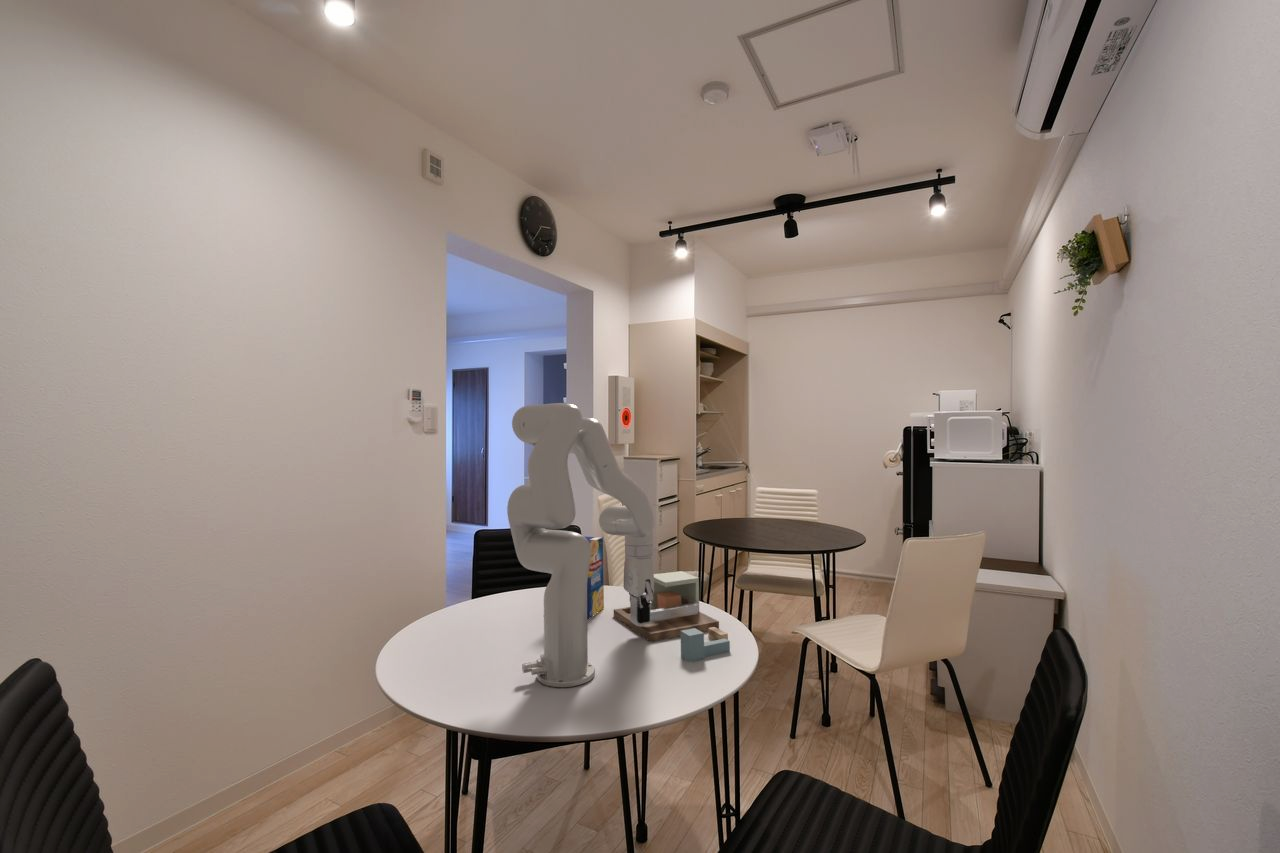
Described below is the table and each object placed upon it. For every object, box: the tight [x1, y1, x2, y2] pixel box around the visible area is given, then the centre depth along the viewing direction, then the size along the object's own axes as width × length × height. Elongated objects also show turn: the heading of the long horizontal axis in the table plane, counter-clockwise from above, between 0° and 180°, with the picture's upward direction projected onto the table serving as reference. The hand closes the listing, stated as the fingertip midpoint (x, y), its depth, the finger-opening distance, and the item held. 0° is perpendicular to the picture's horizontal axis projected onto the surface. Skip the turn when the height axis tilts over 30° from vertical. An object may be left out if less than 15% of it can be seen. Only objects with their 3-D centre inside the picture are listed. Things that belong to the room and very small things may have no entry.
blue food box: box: [584, 536, 605, 620], centre depth 169 cm, size 7×11×22 cm, turn 159°
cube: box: [657, 592, 681, 609], centre depth 162 cm, size 5×5×5 cm
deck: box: [613, 606, 720, 642], centre depth 158 cm, size 21×24×2 cm
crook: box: [629, 593, 700, 626], centre depth 154 cm, size 21×10×7 cm, turn 115°
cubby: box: [650, 570, 700, 612], centre depth 164 cm, size 11×10×10 cm
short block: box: [707, 627, 729, 641], centre depth 144 cm, size 6×2×2 cm, turn 26°
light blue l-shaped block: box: [680, 628, 731, 663], centre depth 134 cm, size 12×4×6 cm, turn 116°
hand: (640, 619), depth 148 cm, fingers closed on crook, 4 cm apart
